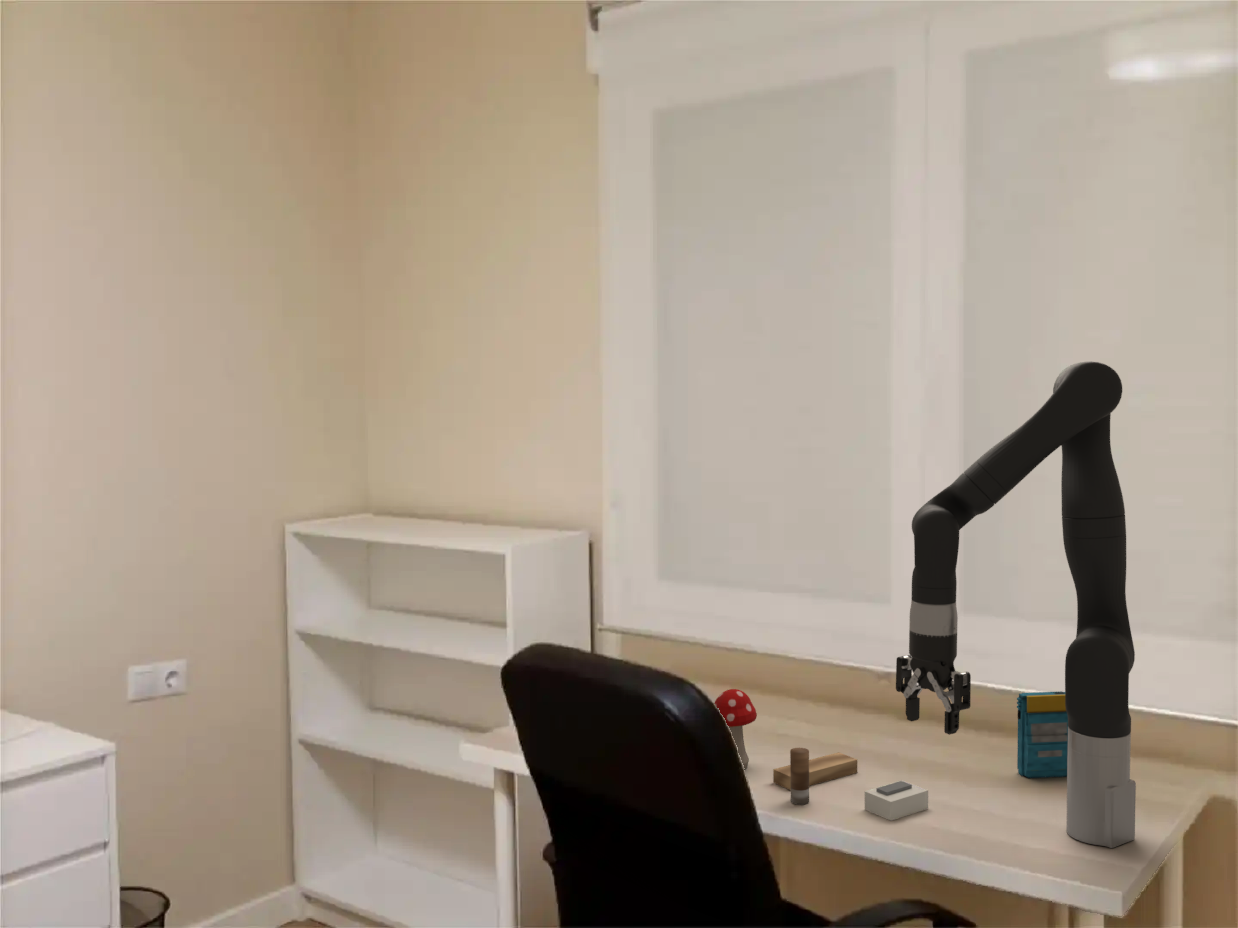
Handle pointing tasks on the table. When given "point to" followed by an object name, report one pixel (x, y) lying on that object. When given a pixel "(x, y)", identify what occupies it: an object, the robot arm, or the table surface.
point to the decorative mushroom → (737, 716)
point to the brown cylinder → (799, 775)
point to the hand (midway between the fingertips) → (931, 726)
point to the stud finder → (896, 800)
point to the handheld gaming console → (1042, 735)
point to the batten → (819, 770)
